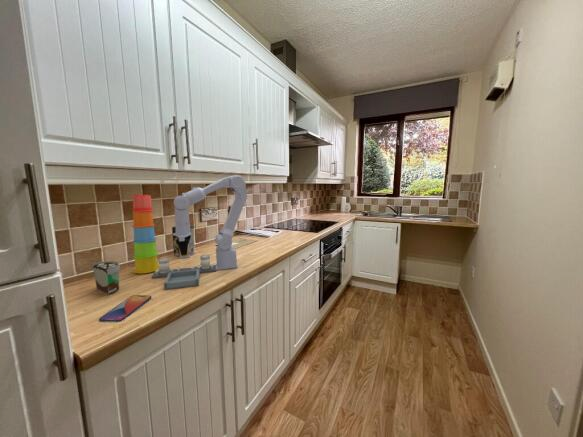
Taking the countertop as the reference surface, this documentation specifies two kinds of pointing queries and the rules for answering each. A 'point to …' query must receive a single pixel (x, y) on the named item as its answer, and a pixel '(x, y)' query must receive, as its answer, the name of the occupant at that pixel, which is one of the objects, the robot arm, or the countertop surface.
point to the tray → (182, 279)
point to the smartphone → (125, 308)
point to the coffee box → (191, 242)
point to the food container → (107, 276)
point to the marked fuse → (185, 255)
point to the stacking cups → (144, 235)
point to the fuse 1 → (164, 266)
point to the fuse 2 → (205, 262)
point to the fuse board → (158, 275)
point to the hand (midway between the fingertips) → (184, 253)
